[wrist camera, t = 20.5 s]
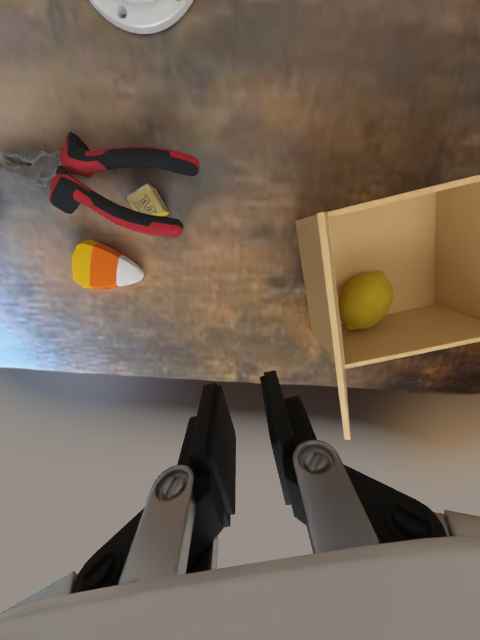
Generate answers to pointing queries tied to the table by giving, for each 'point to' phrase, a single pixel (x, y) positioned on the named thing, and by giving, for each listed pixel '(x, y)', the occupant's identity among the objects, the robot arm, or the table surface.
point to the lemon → (365, 300)
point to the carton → (402, 270)
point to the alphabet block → (147, 201)
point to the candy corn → (103, 267)
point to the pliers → (86, 163)
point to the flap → (334, 316)
